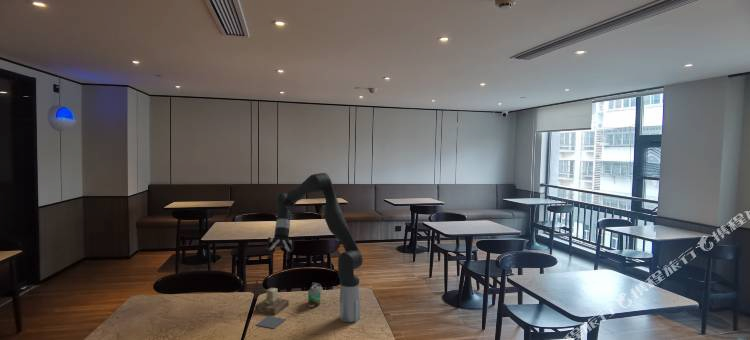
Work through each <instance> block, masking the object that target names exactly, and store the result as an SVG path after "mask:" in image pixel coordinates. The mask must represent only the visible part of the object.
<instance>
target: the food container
mask: <svg viewBox="0 0 750 340" xmlns="http://www.w3.org/2000/svg"><path fill="white" fill-rule="evenodd" d="M322 291H323V288H322V285H321V283H318V282H312V284H311V286H310V288H309V289H308V290H307V296H308V297H307V298H308V309H315V308H318V307H319V306H320V304H321V294H322V293H321V292H322Z"/></svg>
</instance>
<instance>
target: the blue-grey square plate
mask: <svg viewBox="0 0 750 340" xmlns="http://www.w3.org/2000/svg"><path fill="white" fill-rule="evenodd" d="M286 321H287V319H286V318H283V317H282V318H281V317H276V316H272V315H268V316H265V318H264V319H262V320H260V321H259V322H258V323H256V324H255V326H256V325H257V326H256V327H261V326H263V327H262V328H266V327H267V328H266V329H272V330H275V329H276V328H278V327H279V326H280V325H281V324H283V323H284V322H286Z"/></svg>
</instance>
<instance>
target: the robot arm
mask: <svg viewBox="0 0 750 340" xmlns="http://www.w3.org/2000/svg"><path fill="white" fill-rule="evenodd" d="M333 185H334V184H333V182H332V179H331V177H330V175H329V174H328V173H326V172H320V173H319V172H318V173H313V174H311V175H310V176H308V177H307V178H306V179H305V180H304V181H303V182H302V183H300V185H298V186H296V187H294V188H292V189H291V190H289V191H288V192H287V193H286V192H285V193H284V192H280V193H278V195H277V196H276V202H275V203H276V209H277V217H276V222H275V226H274V227H275V229H274V236H273V238H272V237H269V236H268V238H267V242H266V246H265V249H266V250H268V257H269V258H270V259H271V258H272V256H273V255H272V253H273V250H274V248H275V247H276V248H284V249H285V251H286V255H285V256H286V257H285V259H286V260H288V259H289V258H290V253H291V252H294V249H295V239H289V236H290V228H291V227H290V226H291V214H292V213H291V211H290V210H289V209H287V208H293V207H294V206H295V205H296V203H297V202H299V201H301V200H303V199H304V198H305V197H307V194H311V193H318V192H322V194H323V196H324V199H325V208H324V219H325V223H326V225H327V227H328V230H329V231H330V233H331V234H332V235H333V236H334V237H335V238H337V239H338V240H339V242H340V243H341V244H342V246H343V249H344V252H342V253H340V254H339V256H338V259H337V270H338V271H337V272H338V279H339V320H340V321H341V322H344V323H356V322H358V321H359V319H361V306H362V305H361V301H362V300H361V298H360V278H359V277H358V276H357V275H355V274H354V271H355V270H356V269H358V268H360V267H361V266H362V265H363V256H362V255H363V254H361V251H360V248H359V246H357V243H356V241H355V240H354V239H355V238H354V237H353V234H352V233H351V231H350V228H349V226H348V224H347V221H346V217H345V216H344V213H343V211H342V209H341V206H340V204H339V200H338V198H337V196H336V192H335V189H334V188H335V187H334V186H333ZM272 241H273V244H272V245H271V246H270V243H272ZM288 243H289V244H290V247H289V245H288Z"/></svg>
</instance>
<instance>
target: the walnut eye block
mask: <svg viewBox="0 0 750 340" xmlns="http://www.w3.org/2000/svg"><path fill="white" fill-rule="evenodd" d="M287 307H289V299H285V298H279V297H278V303H277V304H275V305H274V306H273V305H267V298H265V299H263V300H262V301H259V303H257V304H255V305H254V311H255V312H256V311H258V313H262V312H263V314H268V313H269V314H268V315H277V314H279V313H280V312H281V311H283V310H284V309H286V308H287Z"/></svg>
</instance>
